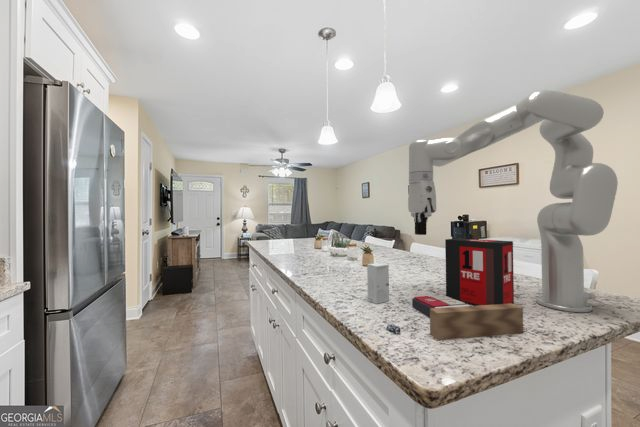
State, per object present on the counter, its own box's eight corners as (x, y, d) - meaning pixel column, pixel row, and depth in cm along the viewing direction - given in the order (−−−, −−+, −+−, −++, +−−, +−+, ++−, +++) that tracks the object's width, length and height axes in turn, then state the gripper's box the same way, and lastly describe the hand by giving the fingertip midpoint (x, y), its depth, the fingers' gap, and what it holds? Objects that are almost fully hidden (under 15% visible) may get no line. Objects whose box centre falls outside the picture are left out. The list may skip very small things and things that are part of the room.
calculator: (443, 293, 83) (480, 307, 68) (443, 307, 83) (481, 324, 68) (411, 295, 81) (442, 310, 66) (411, 310, 81) (443, 327, 66)
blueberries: (401, 326, 69) (401, 318, 69) (417, 337, 61) (417, 328, 61) (377, 328, 68) (376, 320, 68) (390, 339, 60) (389, 331, 60)
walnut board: (512, 327, 65) (511, 303, 65) (523, 332, 62) (522, 307, 62) (430, 334, 62) (429, 308, 62) (437, 340, 59) (437, 313, 59)
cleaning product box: (446, 299, 88) (445, 239, 89) (458, 294, 94) (458, 238, 94) (502, 313, 75) (501, 243, 75) (513, 306, 80) (512, 241, 81)
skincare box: (376, 304, 83) (376, 266, 83) (366, 300, 87) (366, 264, 87) (390, 300, 86) (389, 264, 87) (379, 297, 90) (379, 262, 90)
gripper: (445, 175, 79) (445, 236, 79) (419, 182, 94) (419, 233, 94) (422, 174, 78) (422, 236, 78) (399, 181, 93) (399, 233, 93)
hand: (420, 234), depth 86 cm, fingers closed
